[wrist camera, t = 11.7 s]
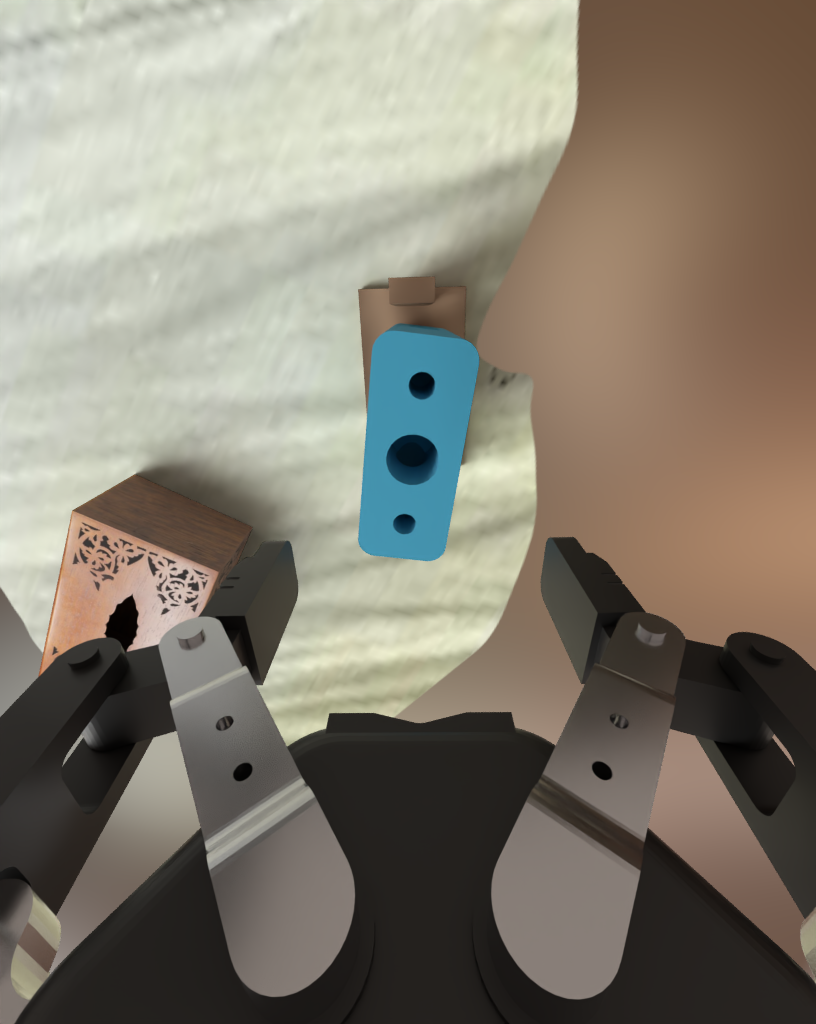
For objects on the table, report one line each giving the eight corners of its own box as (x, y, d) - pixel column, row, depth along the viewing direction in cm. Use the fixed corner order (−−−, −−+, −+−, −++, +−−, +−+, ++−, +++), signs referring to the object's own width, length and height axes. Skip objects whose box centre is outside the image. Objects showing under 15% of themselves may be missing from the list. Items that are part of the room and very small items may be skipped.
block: (393, 320, 36) (373, 327, 18) (448, 327, 36) (482, 341, 19) (381, 449, 42) (357, 553, 24) (429, 454, 42) (442, 562, 24)
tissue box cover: (195, 659, 61) (158, 719, 52) (96, 622, 58) (38, 679, 49) (253, 526, 51) (219, 572, 42) (136, 473, 48) (72, 510, 39)
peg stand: (371, 468, 47) (356, 525, 34) (359, 290, 39) (334, 279, 26) (458, 466, 47) (475, 523, 34) (464, 287, 39) (489, 274, 26)
